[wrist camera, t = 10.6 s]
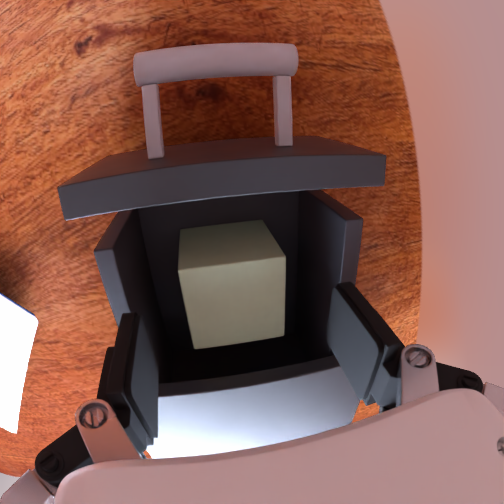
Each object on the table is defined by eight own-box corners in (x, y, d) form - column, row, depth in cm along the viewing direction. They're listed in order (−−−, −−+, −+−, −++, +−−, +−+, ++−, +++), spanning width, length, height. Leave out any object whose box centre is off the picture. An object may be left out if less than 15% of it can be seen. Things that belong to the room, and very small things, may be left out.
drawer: (100, 78, 12) (43, 61, 6) (314, 62, 14) (386, 42, 8) (154, 349, 20) (150, 428, 14) (308, 326, 22) (344, 396, 16)
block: (179, 228, 16) (177, 270, 12) (262, 219, 16) (286, 255, 12) (191, 298, 18) (194, 350, 14) (264, 288, 18) (284, 336, 14)
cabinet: (132, 294, 19) (111, 398, 11) (315, 270, 21) (376, 355, 13) (176, 416, 26) (181, 494, 18) (302, 396, 27) (331, 467, 20)
